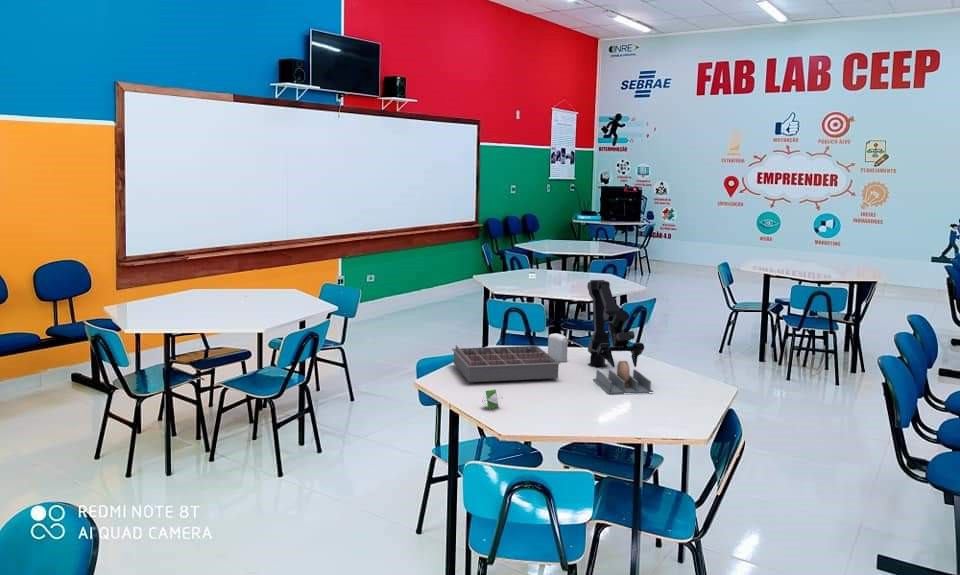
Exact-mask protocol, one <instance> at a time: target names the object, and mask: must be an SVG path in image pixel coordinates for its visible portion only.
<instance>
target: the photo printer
mask: <svg viewBox="0 0 960 575" xmlns="http://www.w3.org/2000/svg"><path fill="white" fill-rule="evenodd" d="M568 342H569V341H568V338H567V337H566V335H563V334H560V333H551V334H550V333H549V336H548V338H547V354H549V355H550V356H551V357H553V358H554V359H555V360H557V361H558V362H560V363H565V362H567V361H568Z"/></svg>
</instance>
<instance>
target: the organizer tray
mask: <svg viewBox="0 0 960 575" xmlns="http://www.w3.org/2000/svg"><path fill="white" fill-rule="evenodd" d="M451 351H453V365H454V366H455V367H456V369H457V370H458V371H459V372H460V373H461V375H463V377H464V378H465V379H466V381H467V382H468V383H480V382H502V381H505V382H507V381H525V380H545V379H546V380H547V379H559V365H561V363H562V362H560V361H557V360H555V359H554V358H553V357H551V356H550V355H549V354H548V352H546V351H545V350H543V349H542V348H541V347H539V346H538V345H522V346H521V345H520V346H517V345H516V346H495V347H494V346H492V347H491V346H489V347H488V346H487V347H464V348H463V347H459V346H458V345H457V344H456V345H455V348H451Z"/></svg>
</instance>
